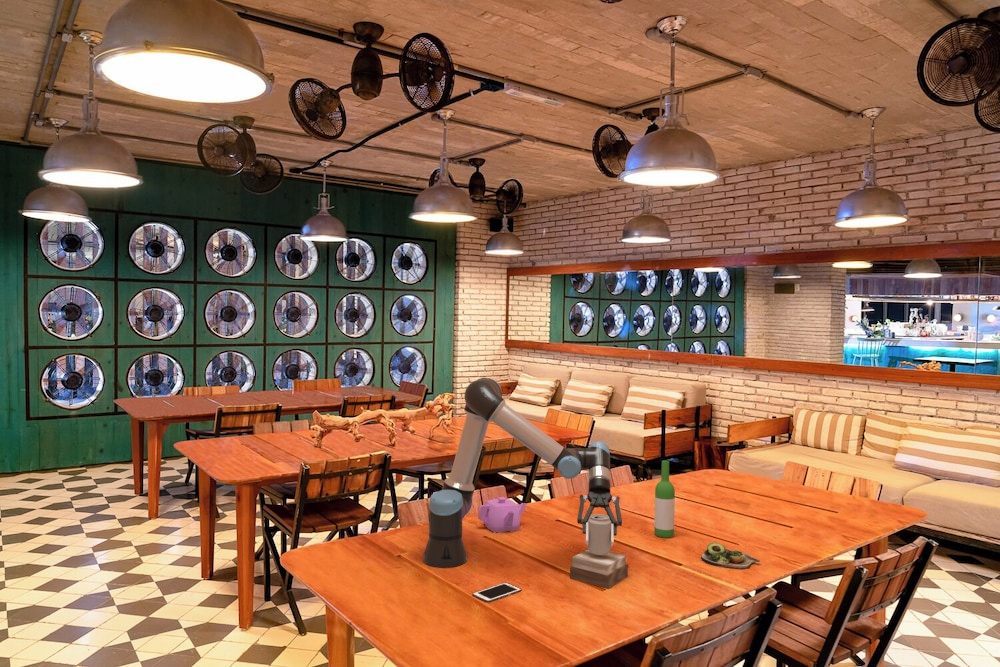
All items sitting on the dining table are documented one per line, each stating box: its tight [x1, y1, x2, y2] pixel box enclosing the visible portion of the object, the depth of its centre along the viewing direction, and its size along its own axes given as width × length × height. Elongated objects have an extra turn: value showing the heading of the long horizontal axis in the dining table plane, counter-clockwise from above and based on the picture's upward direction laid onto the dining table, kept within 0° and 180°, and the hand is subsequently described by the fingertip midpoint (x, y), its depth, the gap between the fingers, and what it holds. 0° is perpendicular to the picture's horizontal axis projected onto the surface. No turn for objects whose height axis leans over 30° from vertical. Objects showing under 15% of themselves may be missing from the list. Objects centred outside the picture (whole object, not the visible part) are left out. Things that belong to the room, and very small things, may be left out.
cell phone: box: [471, 581, 523, 604], centre depth 209 cm, size 8×15×1 cm, turn 133°
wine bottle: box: [653, 459, 676, 539], centre depth 272 cm, size 8×8×30 cm
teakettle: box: [477, 496, 528, 533], centre depth 279 cm, size 17×17×12 cm
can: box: [587, 513, 612, 555], centre depth 224 cm, size 8×8×12 cm
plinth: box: [569, 549, 629, 590], centre depth 224 cm, size 14×14×7 cm
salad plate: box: [700, 541, 761, 569], centre depth 243 cm, size 19×18×5 cm
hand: (599, 543), depth 221 cm, fingers closed on can, 7 cm apart
